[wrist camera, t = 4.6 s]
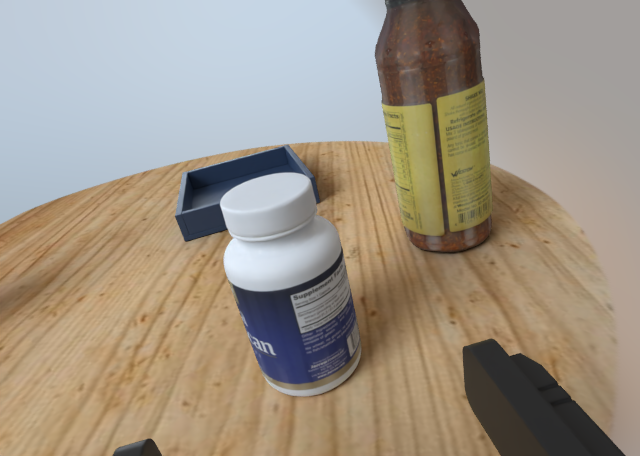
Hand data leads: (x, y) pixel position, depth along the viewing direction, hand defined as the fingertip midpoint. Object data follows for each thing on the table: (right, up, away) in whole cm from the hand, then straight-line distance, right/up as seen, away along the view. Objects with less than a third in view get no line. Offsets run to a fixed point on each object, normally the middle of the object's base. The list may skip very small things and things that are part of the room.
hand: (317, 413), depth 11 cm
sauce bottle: (+9, +4, +20) cm, 22 cm away
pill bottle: (0, -2, +12) cm, 12 cm away
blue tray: (-8, +8, +35) cm, 37 cm away
